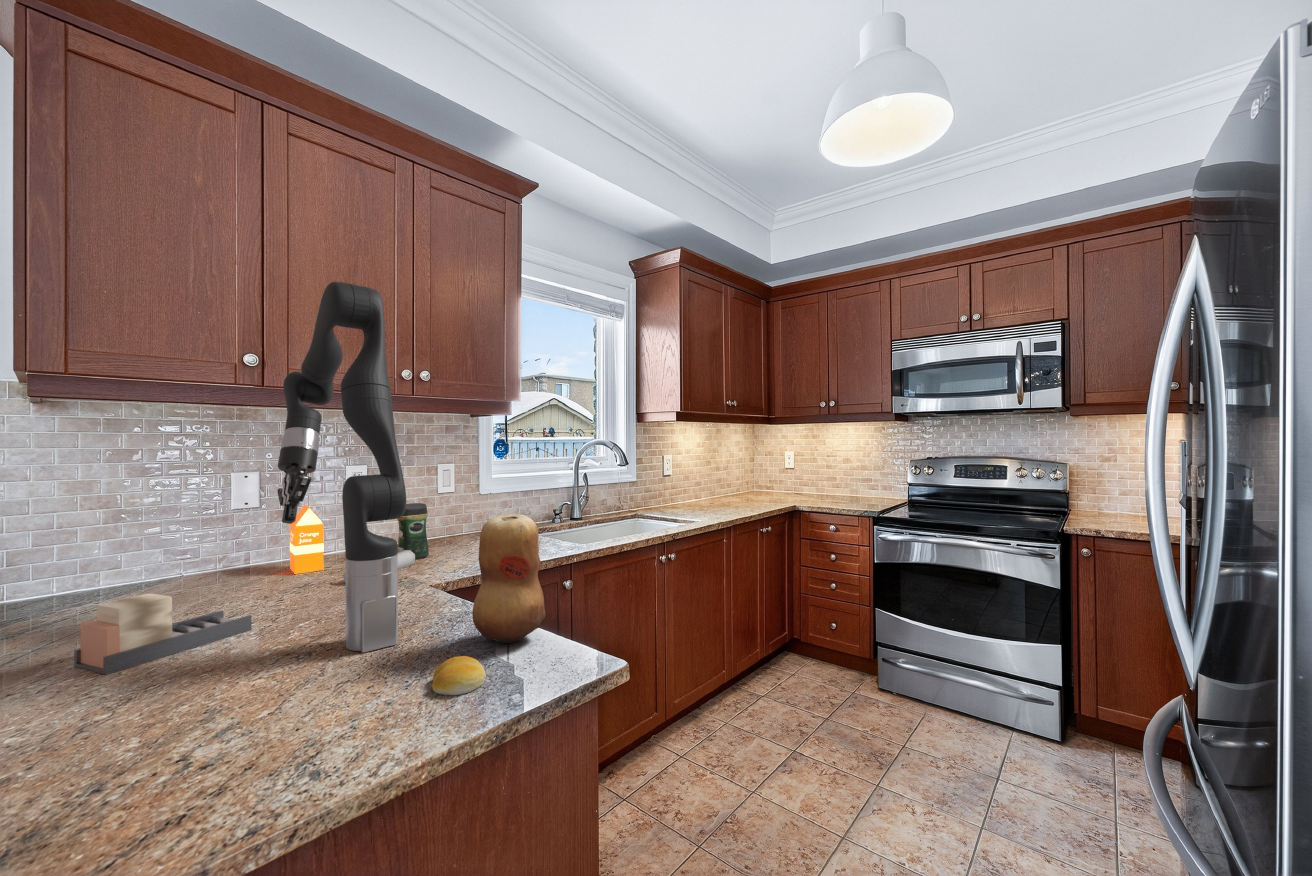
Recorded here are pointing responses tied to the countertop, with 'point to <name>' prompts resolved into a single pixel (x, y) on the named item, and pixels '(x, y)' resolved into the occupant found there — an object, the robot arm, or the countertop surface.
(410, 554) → the tube
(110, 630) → the end stop
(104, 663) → the roller bed
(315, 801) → the countertop surface
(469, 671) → the bread roll
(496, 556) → the butternut squash
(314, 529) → the orange juice
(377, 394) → the robot arm
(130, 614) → the tan wooden block
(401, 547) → the coffee jar
